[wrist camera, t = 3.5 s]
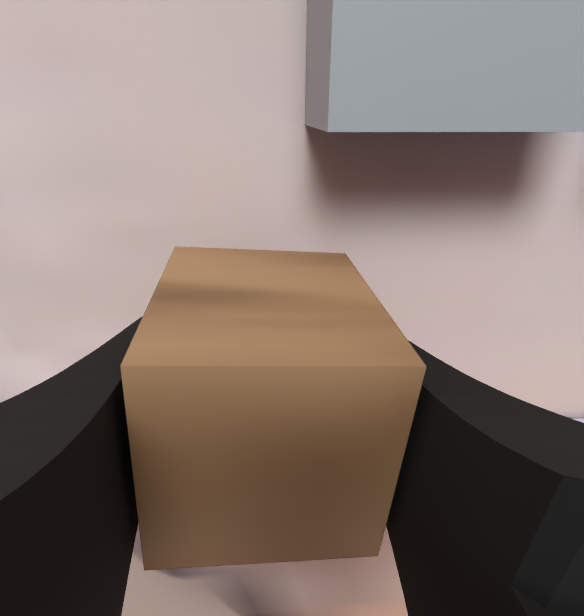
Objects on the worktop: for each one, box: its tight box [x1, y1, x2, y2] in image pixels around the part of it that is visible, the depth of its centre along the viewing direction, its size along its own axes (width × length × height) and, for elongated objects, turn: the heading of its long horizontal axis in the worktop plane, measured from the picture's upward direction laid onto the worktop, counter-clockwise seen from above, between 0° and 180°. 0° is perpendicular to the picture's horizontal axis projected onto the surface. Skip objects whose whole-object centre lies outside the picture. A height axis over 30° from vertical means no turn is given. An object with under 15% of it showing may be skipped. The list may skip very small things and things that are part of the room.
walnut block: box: [120, 247, 427, 570], centre depth 10 cm, size 4×4×6 cm
